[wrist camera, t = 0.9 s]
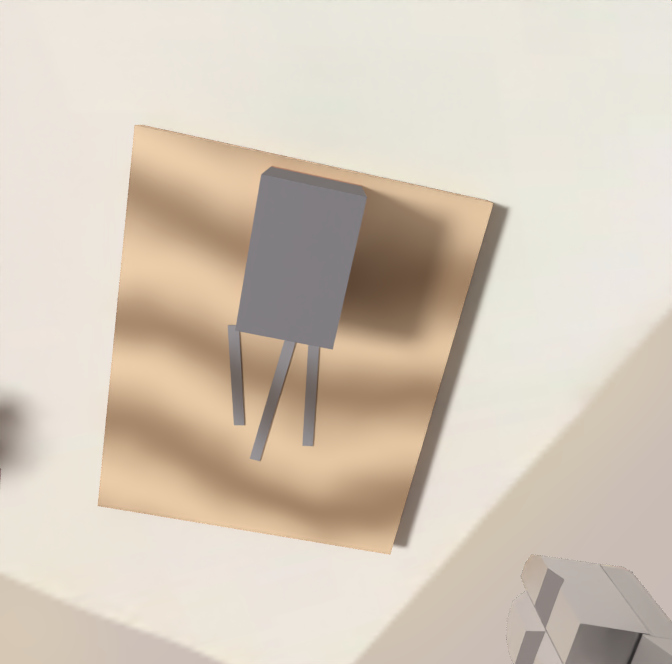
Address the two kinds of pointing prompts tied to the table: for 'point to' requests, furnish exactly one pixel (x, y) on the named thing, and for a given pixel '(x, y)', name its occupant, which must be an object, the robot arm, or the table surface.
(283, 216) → the block
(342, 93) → the table surface
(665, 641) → the robot arm
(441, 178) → the table surface
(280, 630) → the table surface
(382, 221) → the board
